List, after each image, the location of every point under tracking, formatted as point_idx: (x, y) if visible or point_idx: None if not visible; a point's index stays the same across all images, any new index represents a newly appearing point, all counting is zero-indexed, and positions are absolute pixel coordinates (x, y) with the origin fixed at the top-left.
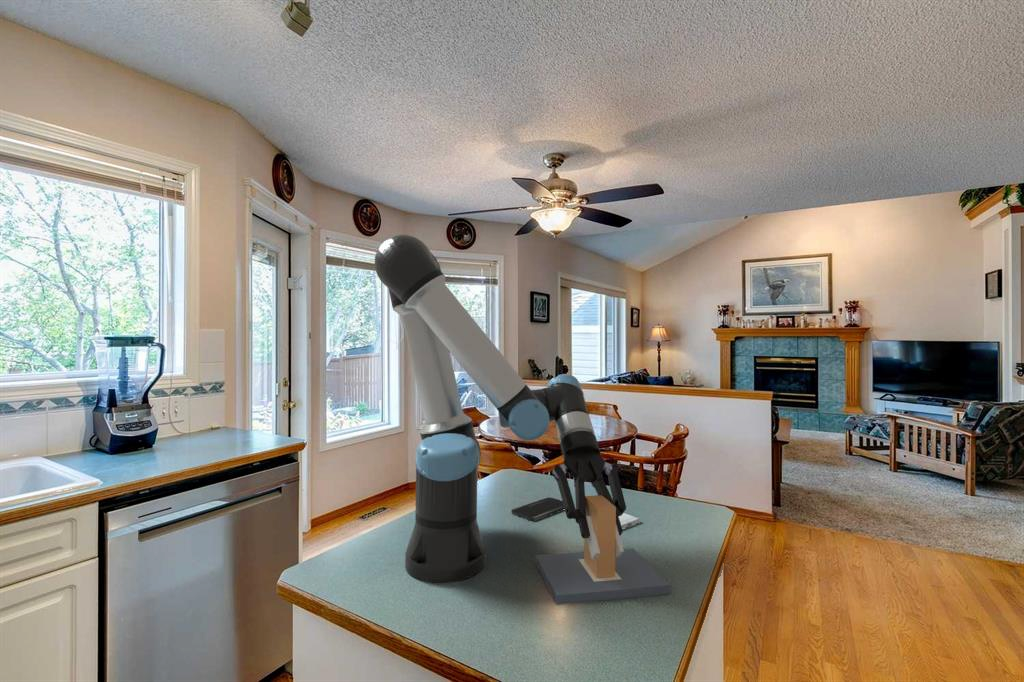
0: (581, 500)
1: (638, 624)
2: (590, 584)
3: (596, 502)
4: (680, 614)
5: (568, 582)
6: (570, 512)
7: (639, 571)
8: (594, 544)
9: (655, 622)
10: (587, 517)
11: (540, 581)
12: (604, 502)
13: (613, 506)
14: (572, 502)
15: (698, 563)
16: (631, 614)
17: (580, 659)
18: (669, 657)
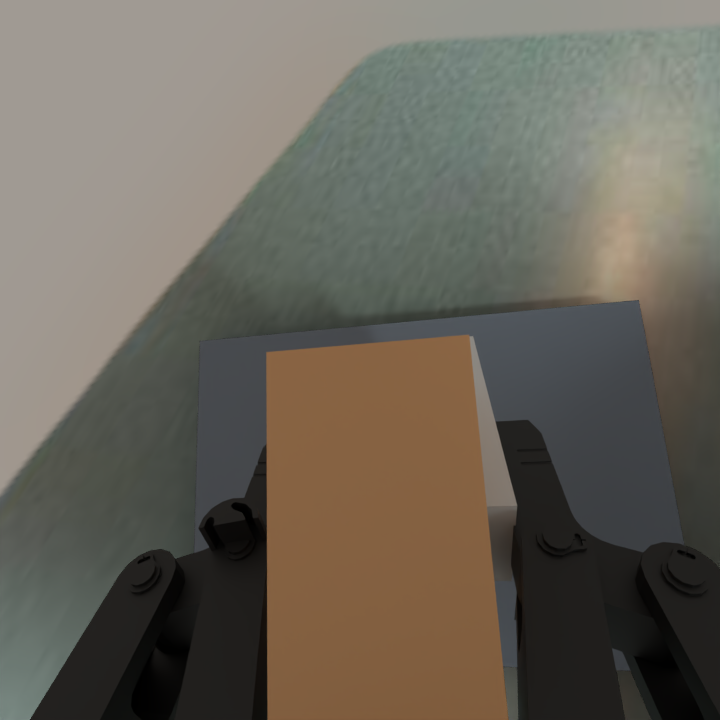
0: (584, 690)
1: (380, 205)
2: (483, 364)
3: (425, 521)
4: (243, 245)
5: (572, 388)
6: (698, 556)
7: (259, 442)
8: (475, 362)
9: (329, 213)
10: (512, 493)
11: (673, 479)
12: (330, 511)
13: (281, 377)
14: (715, 672)
15: (15, 532)
16: (382, 250)
17: (589, 74)
18: (359, 88)
